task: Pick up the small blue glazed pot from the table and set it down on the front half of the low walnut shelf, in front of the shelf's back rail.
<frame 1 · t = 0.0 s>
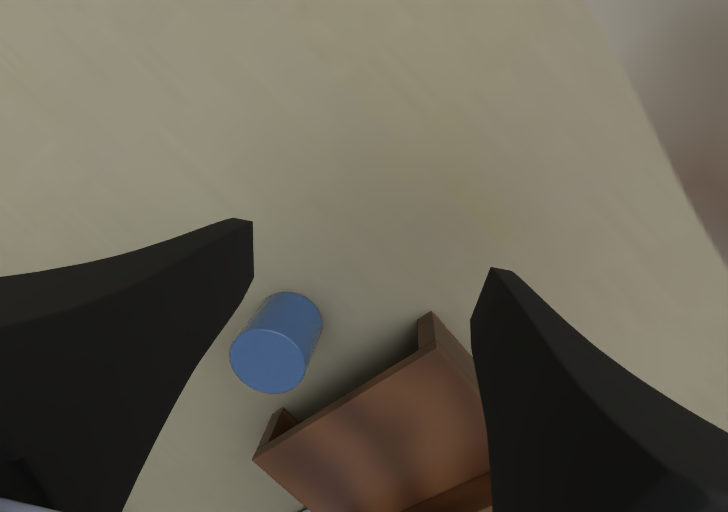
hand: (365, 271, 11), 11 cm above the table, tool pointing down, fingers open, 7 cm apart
shelf: (389, 413, 26), on the table
jam pot: (290, 320, 24), on the table
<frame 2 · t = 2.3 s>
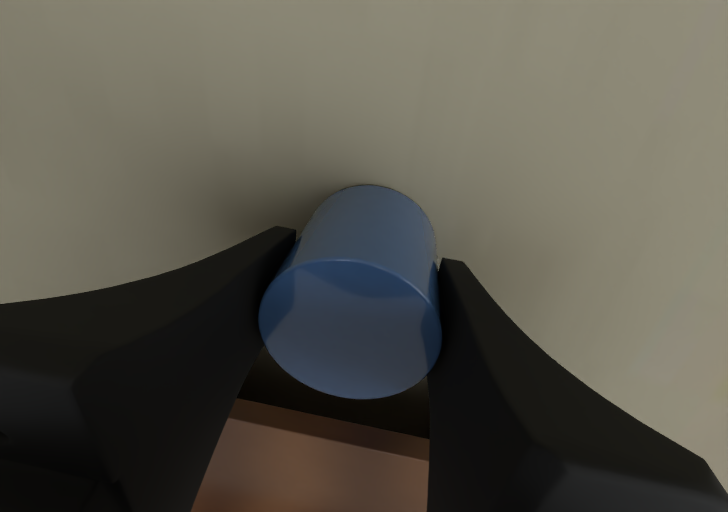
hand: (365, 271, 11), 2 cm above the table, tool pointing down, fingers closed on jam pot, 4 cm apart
shelf: (350, 425, 18), on the table
jam pot: (370, 246, 12), on the table, touching gripper
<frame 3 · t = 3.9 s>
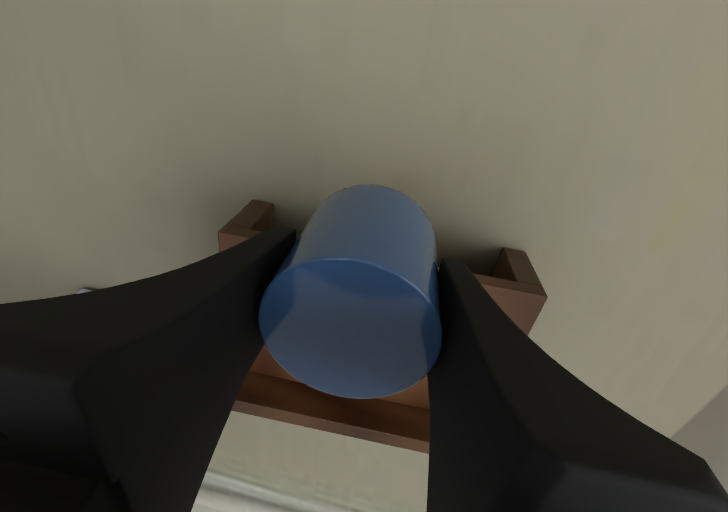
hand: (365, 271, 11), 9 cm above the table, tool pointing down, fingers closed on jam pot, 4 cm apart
shelf: (372, 297, 22), on the table
jam pot: (370, 245, 12), point 7 cm above the table, touching gripper
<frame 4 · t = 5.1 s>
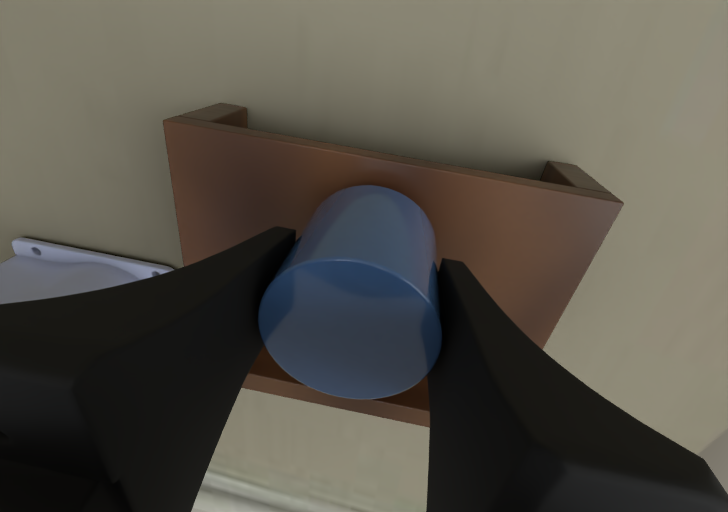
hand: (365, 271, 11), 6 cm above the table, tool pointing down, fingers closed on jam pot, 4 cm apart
shelf: (375, 238, 18), on the table
jam pot: (370, 246, 12), point 5 cm above the table, touching gripper
when the fingers open (6 cm above the table, at t = 5.8 s): jam pot stays where it is, resting on shelf.
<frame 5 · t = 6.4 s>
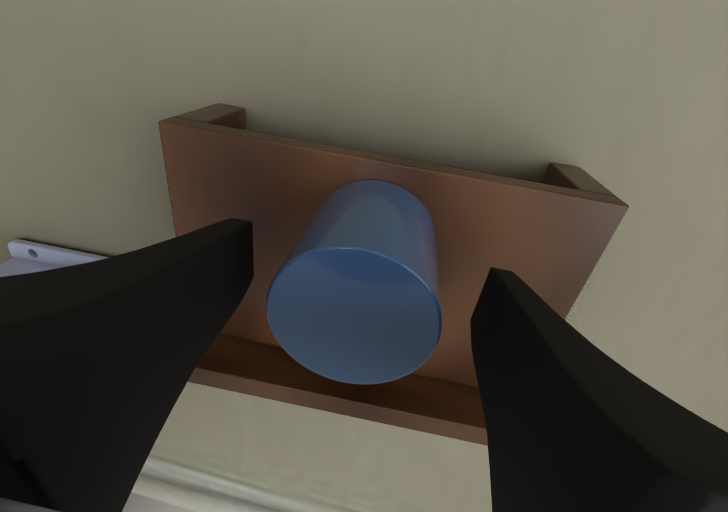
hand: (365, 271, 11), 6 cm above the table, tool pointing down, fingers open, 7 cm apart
shelf: (375, 240, 17), on the table
jam pot: (372, 239, 13), point 4 cm above the table, touching shelf
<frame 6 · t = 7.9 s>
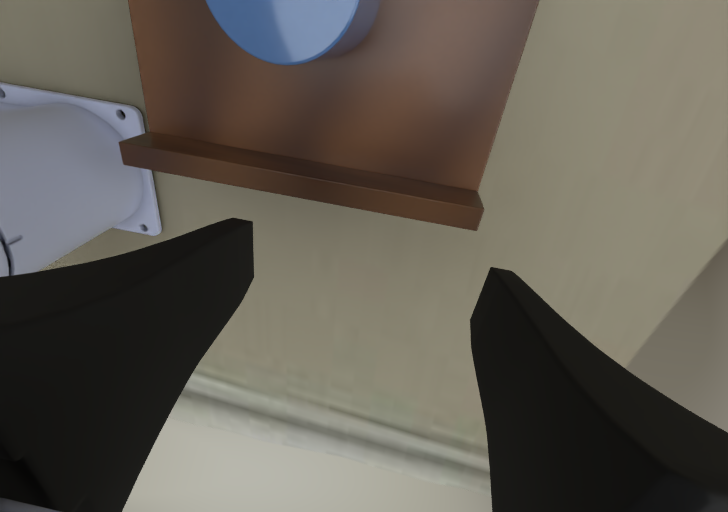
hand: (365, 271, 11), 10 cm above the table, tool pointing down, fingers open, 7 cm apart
shelf: (337, 55, 17), on the table
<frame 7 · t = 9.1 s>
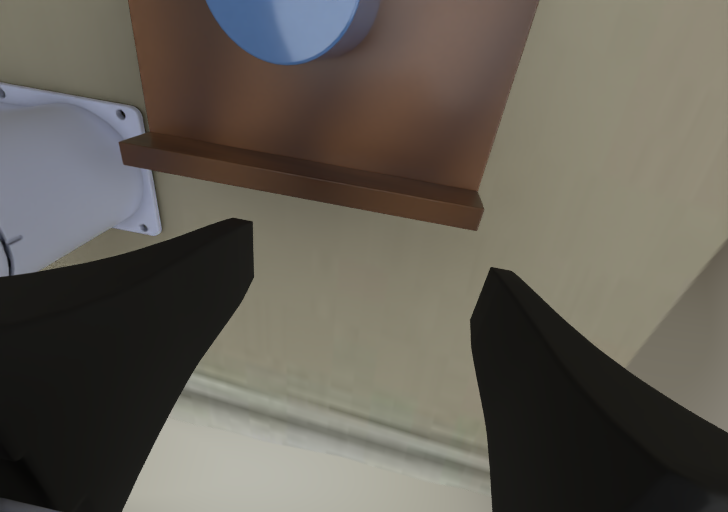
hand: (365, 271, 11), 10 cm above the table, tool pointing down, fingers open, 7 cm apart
shelf: (337, 55, 17), on the table
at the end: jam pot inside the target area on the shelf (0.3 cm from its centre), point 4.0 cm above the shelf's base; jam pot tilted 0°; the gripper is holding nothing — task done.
